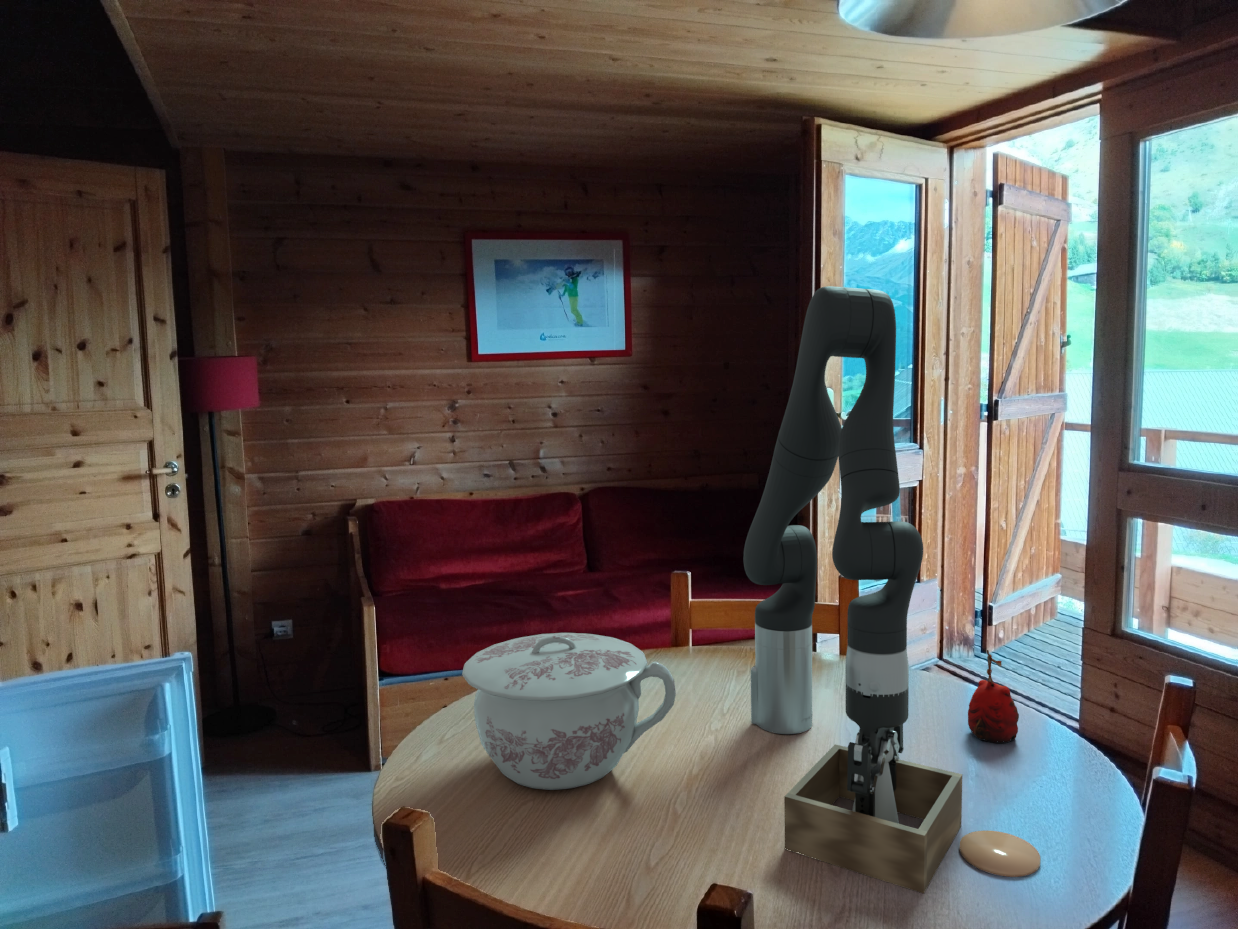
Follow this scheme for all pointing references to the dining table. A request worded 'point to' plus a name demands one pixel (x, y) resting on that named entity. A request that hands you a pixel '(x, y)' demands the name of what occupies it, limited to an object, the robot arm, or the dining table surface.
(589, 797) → the dining table surface
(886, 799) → the salt shaker
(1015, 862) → the tan round coaster
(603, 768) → the chamber pot
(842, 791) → the walnut box
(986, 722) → the red clay folk toy
